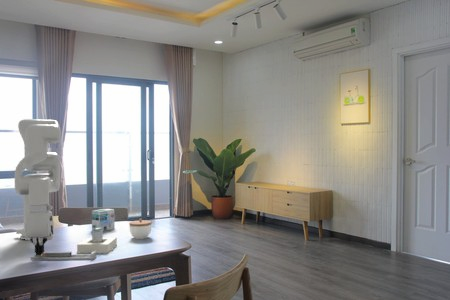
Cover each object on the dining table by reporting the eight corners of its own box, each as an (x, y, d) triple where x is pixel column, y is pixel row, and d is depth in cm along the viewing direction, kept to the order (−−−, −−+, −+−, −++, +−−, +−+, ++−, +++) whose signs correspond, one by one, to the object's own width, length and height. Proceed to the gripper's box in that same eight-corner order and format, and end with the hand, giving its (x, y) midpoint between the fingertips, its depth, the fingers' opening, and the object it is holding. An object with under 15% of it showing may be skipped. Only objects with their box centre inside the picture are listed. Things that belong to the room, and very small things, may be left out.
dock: (77, 252, 170) (77, 244, 170) (88, 245, 183) (88, 237, 183) (107, 252, 170) (107, 244, 170) (116, 245, 182) (116, 237, 182)
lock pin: (42, 259, 160) (42, 252, 160) (44, 257, 162) (44, 251, 162) (69, 258, 160) (69, 252, 160) (71, 257, 162) (71, 251, 162)
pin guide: (30, 259, 159) (30, 253, 159) (35, 257, 163) (35, 251, 163) (93, 259, 159) (92, 253, 159) (96, 256, 163) (96, 250, 163)
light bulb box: (99, 231, 213) (99, 211, 213) (91, 230, 216) (91, 210, 216) (115, 228, 222) (115, 208, 222) (106, 227, 226) (106, 208, 226)
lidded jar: (124, 239, 195) (124, 219, 195) (137, 234, 205) (137, 216, 205) (143, 241, 191) (143, 221, 191) (155, 236, 201) (155, 217, 201)
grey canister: (90, 250, 174) (90, 229, 174) (94, 247, 178) (94, 227, 178) (100, 250, 174) (100, 229, 174) (104, 247, 178) (104, 227, 178)
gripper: (61, 207, 165) (61, 252, 165) (25, 207, 165) (25, 252, 165) (53, 210, 157) (53, 257, 157) (15, 210, 158) (15, 257, 158)
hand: (39, 254), depth 161 cm, fingers closed
